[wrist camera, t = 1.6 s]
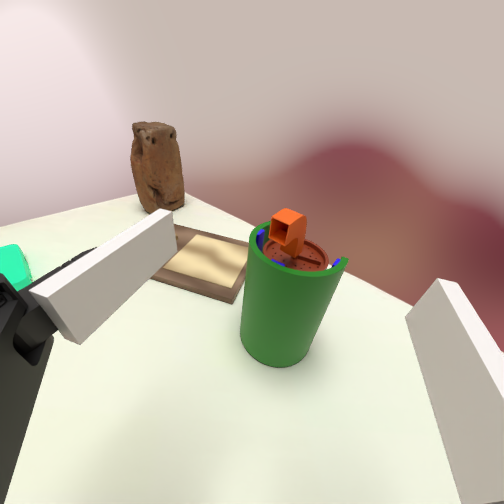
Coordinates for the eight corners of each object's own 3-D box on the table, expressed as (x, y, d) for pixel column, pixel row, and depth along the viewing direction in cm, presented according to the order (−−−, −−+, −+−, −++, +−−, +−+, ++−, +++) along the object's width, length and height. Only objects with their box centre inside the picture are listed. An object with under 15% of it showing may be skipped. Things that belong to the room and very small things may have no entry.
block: (170, 197, 65) (158, 119, 53) (189, 205, 62) (181, 124, 50) (137, 210, 57) (115, 122, 45) (157, 219, 54) (138, 128, 42)
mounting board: (232, 304, 35) (232, 290, 33) (105, 264, 40) (99, 250, 38) (259, 250, 48) (261, 237, 46) (160, 224, 53) (157, 212, 51)
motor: (316, 330, 33) (371, 207, 21) (293, 384, 26) (352, 252, 14) (258, 299, 37) (276, 180, 25) (225, 340, 30) (228, 207, 18)
